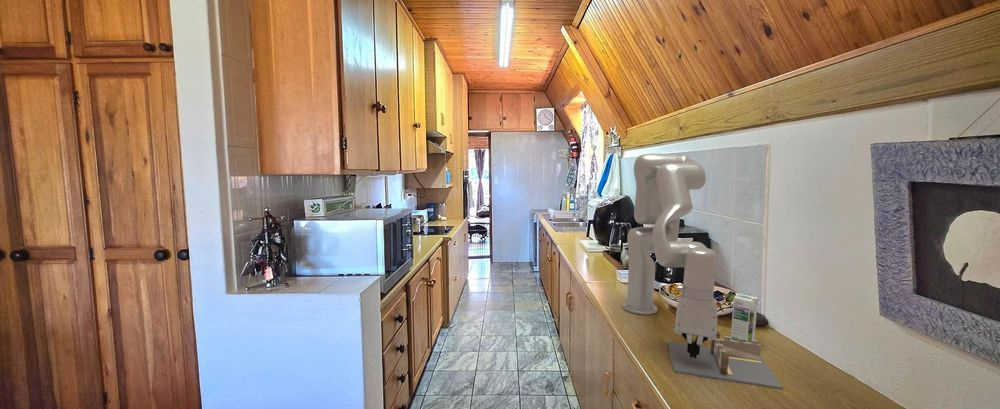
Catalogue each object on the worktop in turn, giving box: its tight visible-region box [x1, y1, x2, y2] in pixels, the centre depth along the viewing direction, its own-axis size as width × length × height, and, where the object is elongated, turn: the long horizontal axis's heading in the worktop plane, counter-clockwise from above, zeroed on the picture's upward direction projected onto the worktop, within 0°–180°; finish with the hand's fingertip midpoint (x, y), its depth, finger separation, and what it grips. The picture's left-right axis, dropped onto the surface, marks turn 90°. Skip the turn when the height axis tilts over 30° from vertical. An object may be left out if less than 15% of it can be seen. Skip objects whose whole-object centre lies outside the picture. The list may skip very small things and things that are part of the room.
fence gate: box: [714, 338, 729, 374], centre depth 108 cm, size 11×2×5 cm, turn 162°
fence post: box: [710, 330, 762, 361], centre depth 113 cm, size 2×12×7 cm, turn 73°
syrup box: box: [729, 293, 759, 343], centre depth 123 cm, size 6×6×14 cm
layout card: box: [666, 340, 784, 390], centre depth 110 cm, size 18×25×1 cm
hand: (692, 355), depth 109 cm, fingers closed
